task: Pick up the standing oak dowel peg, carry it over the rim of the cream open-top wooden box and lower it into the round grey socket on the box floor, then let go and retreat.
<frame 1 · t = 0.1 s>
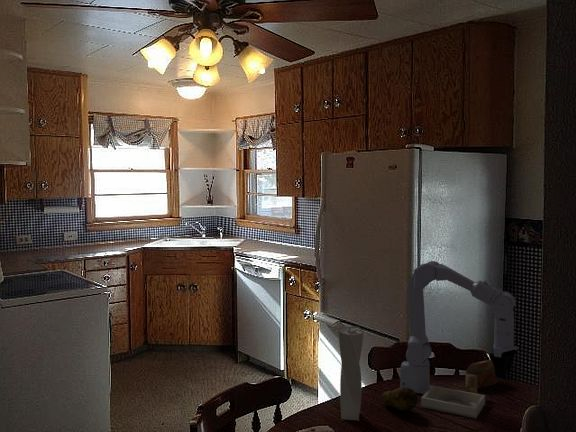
hand: (503, 374, 168), 10 cm above the table, tool pointing down, fingers open, 7 cm apart
box: (453, 405, 168), on the table
tall white vase: (350, 417, 160), on the table
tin: (483, 385, 187), on the table
potato: (399, 411, 164), on the table
peg: (471, 396, 176), on the table
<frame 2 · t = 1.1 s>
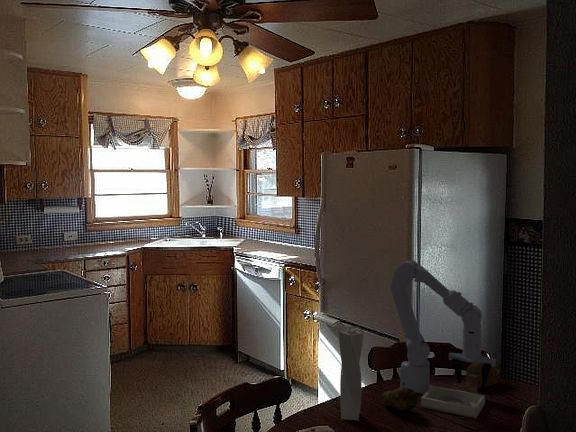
hand: (471, 384, 176), 4 cm above the table, tool pointing down, fingers open, 7 cm apart
nothing on the table moved.
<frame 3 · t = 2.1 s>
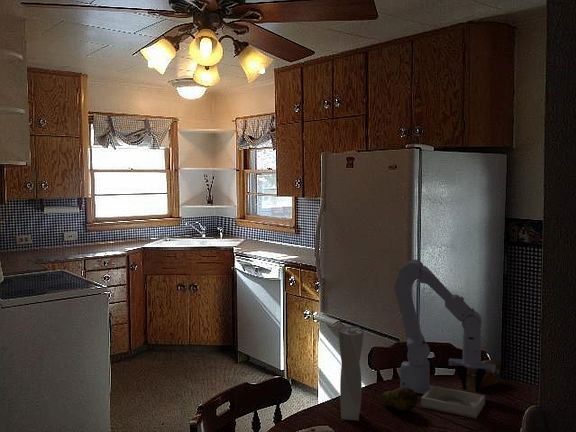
hand: (471, 390, 176), 2 cm above the table, tool pointing down, fingers closed on peg, 4 cm apart
peg: (471, 396, 176), on the table, touching gripper
everything else where it was.
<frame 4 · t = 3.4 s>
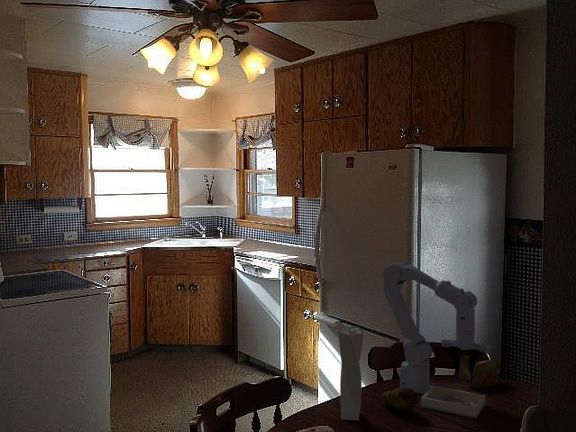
hand: (464, 371, 173), 9 cm above the table, tool pointing down, fingers closed on peg, 4 cm apart
peg: (464, 378, 173), point 7 cm above the table, touching gripper
everything else where it was.
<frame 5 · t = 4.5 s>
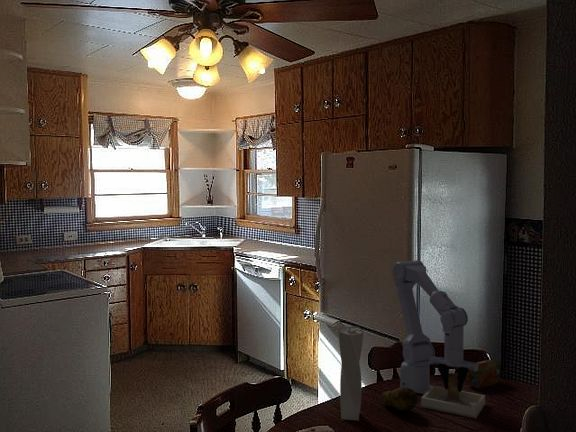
hand: (453, 389, 168), 5 cm above the table, tool pointing down, fingers closed on peg, 4 cm apart
peg: (453, 396, 168), point 3 cm above the table, touching gripper
everything else where it was.
when the fingers open (3 cm above the table, at t = 5.2 s): peg stays where it is, resting on box.
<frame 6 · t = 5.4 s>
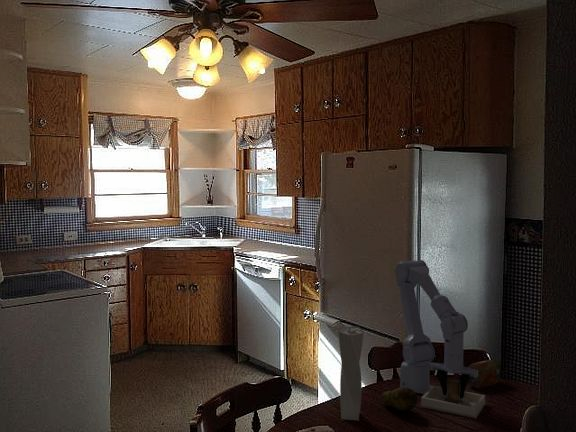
hand: (453, 395, 168), 3 cm above the table, tool pointing down, fingers open, 5 cm apart
peg: (453, 403, 168), point 1 cm above the table, touching box
everything else where it was.
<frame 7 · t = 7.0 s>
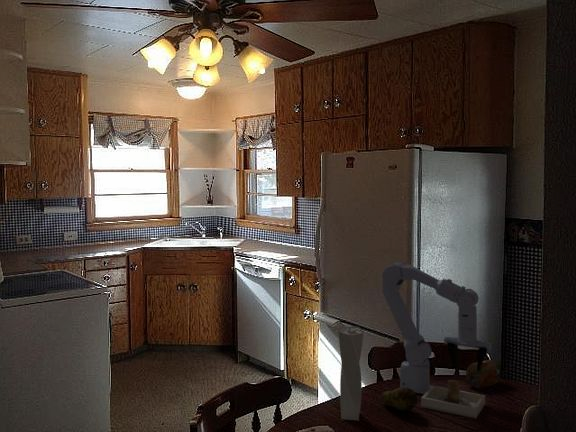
hand: (467, 368, 174), 10 cm above the table, tool pointing down, fingers open, 7 cm apart
nothing on the table moved.
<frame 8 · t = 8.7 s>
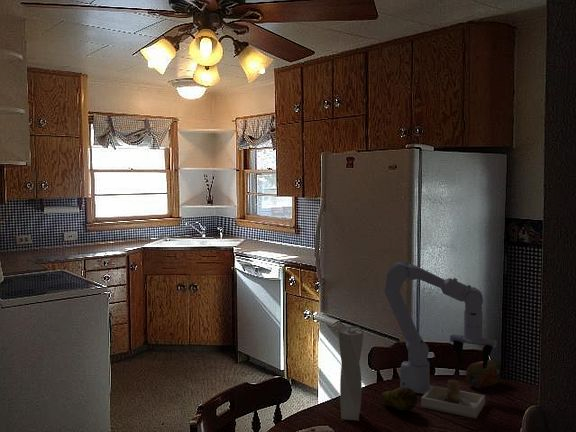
hand: (472, 365, 177), 10 cm above the table, tool pointing down, fingers open, 7 cm apart
nothing on the table moved.
at the end: peg 0.2 cm off-centre on the box, point 0.6 cm above the box's base; peg tilted 0°; the gripper is holding nothing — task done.
